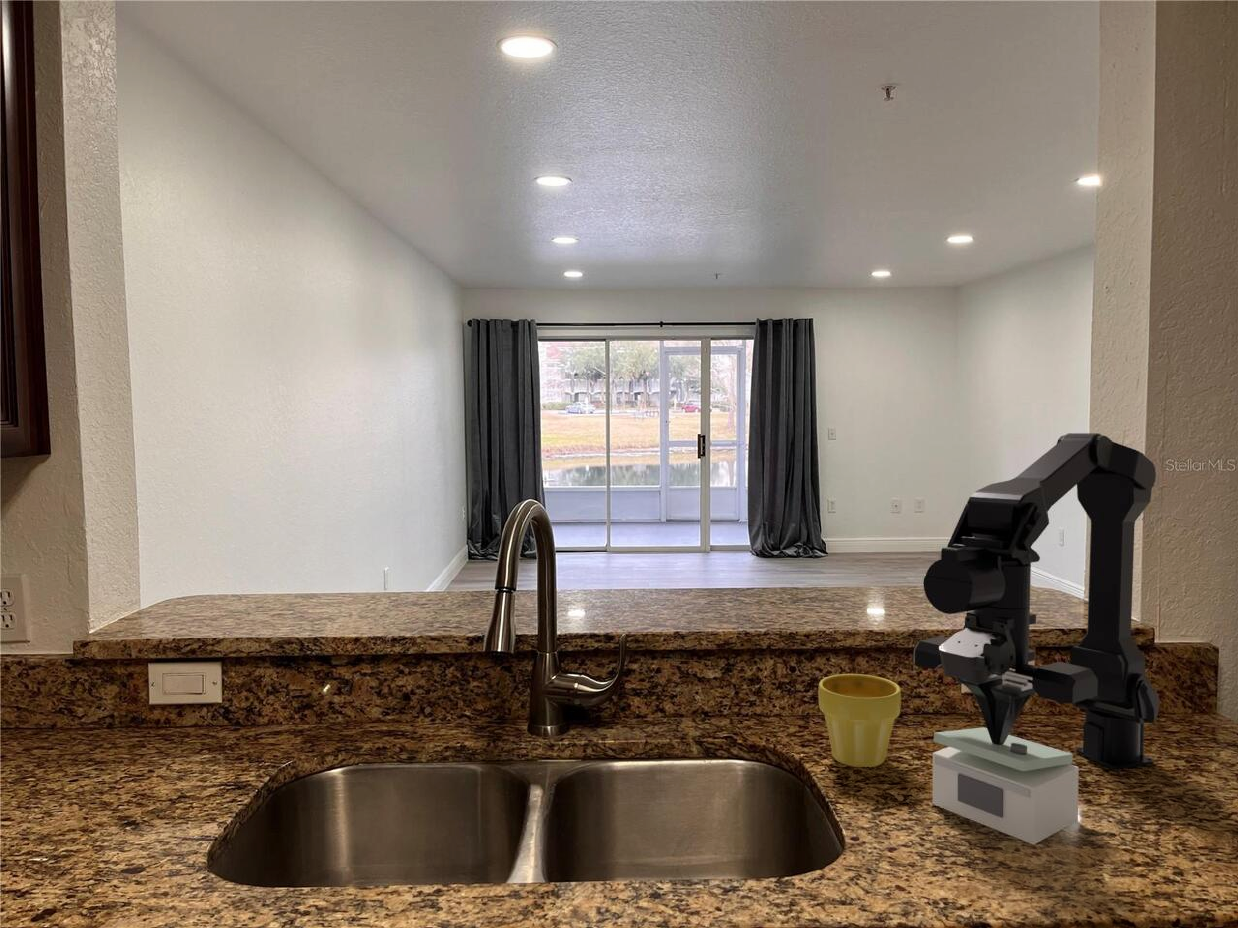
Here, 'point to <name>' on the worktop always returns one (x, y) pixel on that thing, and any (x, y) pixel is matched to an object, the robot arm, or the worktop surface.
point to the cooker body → (1006, 794)
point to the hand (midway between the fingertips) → (998, 743)
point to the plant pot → (859, 716)
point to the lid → (1004, 749)
